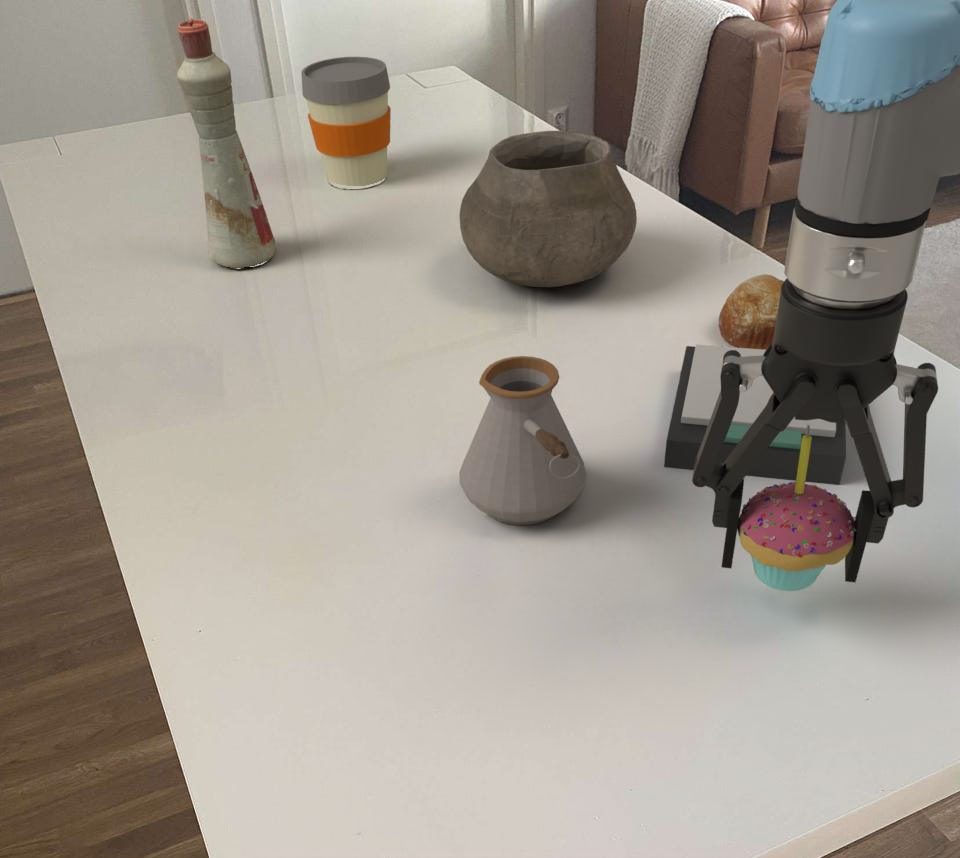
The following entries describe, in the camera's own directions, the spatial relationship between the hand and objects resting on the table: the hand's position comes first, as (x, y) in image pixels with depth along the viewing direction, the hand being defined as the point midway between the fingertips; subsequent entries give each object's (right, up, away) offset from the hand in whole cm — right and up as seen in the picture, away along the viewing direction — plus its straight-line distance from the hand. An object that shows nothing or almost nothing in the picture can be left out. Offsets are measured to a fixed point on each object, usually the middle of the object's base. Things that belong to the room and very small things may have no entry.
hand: (788, 563), depth 78 cm
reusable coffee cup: (-42, +64, +75) cm, 107 cm away
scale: (+4, +16, +22) cm, 27 cm away
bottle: (-55, +45, +56) cm, 91 cm away
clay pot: (-15, +40, +49) cm, 65 cm away
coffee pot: (-19, +4, +12) cm, 23 cm away
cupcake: (0, -1, +1) cm, 1 cm away
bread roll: (+8, +29, +35) cm, 46 cm away
